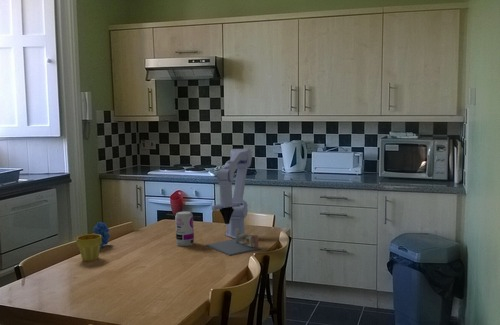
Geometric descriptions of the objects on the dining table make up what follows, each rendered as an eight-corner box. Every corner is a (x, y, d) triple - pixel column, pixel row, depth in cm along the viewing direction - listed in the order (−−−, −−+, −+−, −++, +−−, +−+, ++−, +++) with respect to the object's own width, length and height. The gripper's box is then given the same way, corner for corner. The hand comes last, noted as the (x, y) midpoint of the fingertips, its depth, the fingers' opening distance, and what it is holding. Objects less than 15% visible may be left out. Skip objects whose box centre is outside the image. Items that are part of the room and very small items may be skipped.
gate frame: (205, 245, 239) (205, 230, 239) (235, 240, 248) (234, 225, 247) (229, 255, 222) (228, 239, 221) (260, 249, 231) (259, 233, 230)
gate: (238, 242, 239) (238, 233, 239) (240, 242, 240) (240, 233, 239) (252, 247, 230) (252, 237, 230) (255, 247, 231) (254, 237, 230)
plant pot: (95, 262, 218) (94, 240, 217) (73, 262, 220) (71, 239, 219) (107, 255, 228) (105, 233, 227) (85, 255, 230) (84, 233, 229)
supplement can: (195, 241, 247) (194, 210, 246) (192, 246, 239) (190, 214, 238) (178, 242, 248) (177, 211, 246) (174, 246, 240) (173, 214, 238)
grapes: (102, 250, 237) (100, 224, 236) (89, 249, 239) (88, 224, 238) (117, 244, 248) (115, 219, 247) (105, 243, 250) (103, 218, 249)
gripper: (216, 197, 233) (217, 227, 234) (243, 193, 241) (244, 222, 242) (208, 195, 239) (210, 224, 240) (235, 192, 246) (236, 220, 248)
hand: (227, 223), depth 241 cm, fingers closed
